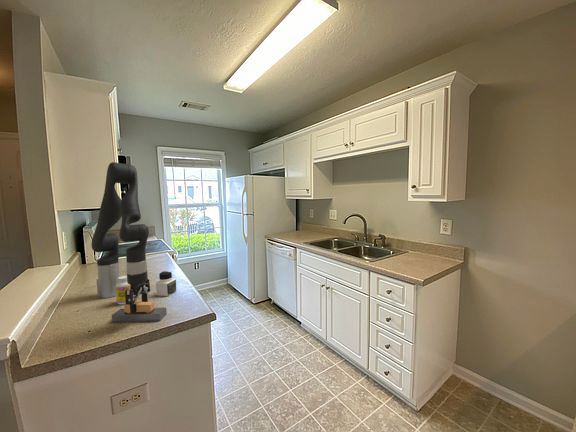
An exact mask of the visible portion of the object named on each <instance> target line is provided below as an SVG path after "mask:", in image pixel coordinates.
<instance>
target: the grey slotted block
mask: <svg viewBox="0 0 576 432" xmlns="http://www.w3.org/2000/svg"><path fill="white" fill-rule="evenodd" d="M167 312H168V311H167V307H154V309H153V310H152V312H151V313H146V312H135V313H132V314H127V312H125V311H124V308H120V309H118V310H117V311H115V312H114V313H113V314H111V322H112V323H122V322H123V323H124V322H126V323H127V322H135V323H136V322H161V320H162V319H164V317H165V316H167V314H168V313H167Z"/></svg>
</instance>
